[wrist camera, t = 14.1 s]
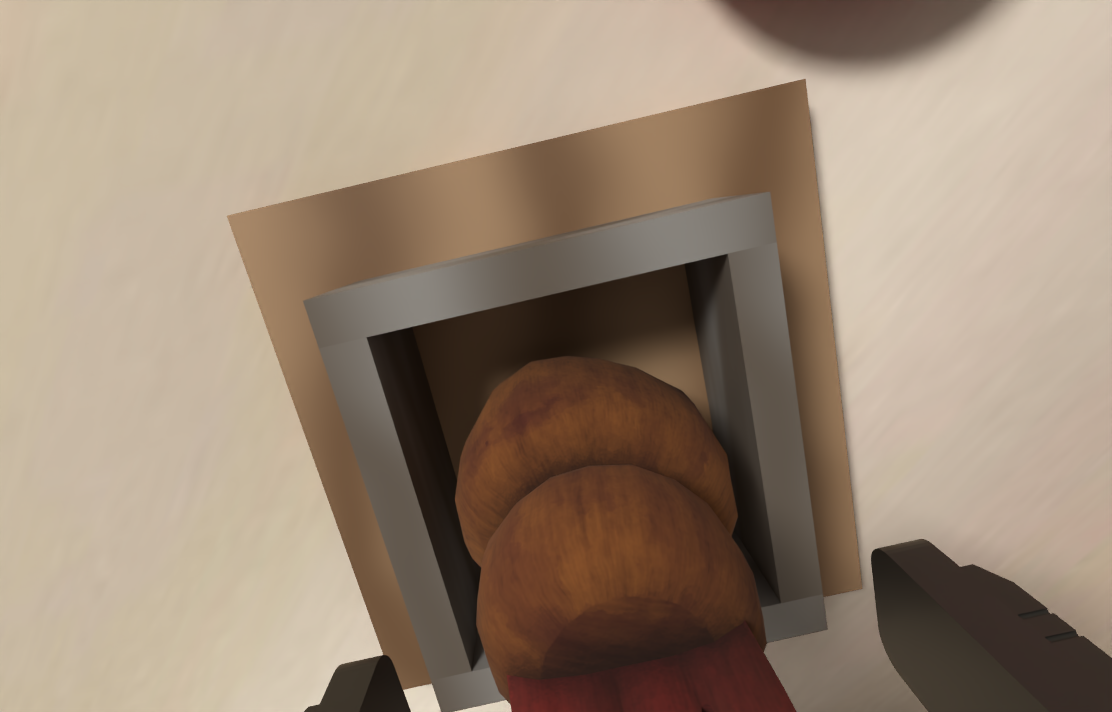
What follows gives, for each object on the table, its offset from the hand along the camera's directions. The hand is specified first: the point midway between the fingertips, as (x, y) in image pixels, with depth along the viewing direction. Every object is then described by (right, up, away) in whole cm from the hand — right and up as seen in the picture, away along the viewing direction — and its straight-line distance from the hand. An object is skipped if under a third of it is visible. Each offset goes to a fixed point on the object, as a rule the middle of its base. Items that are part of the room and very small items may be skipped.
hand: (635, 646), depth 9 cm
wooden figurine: (-1, +3, +10) cm, 11 cm away
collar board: (-1, +3, +11) cm, 12 cm away
